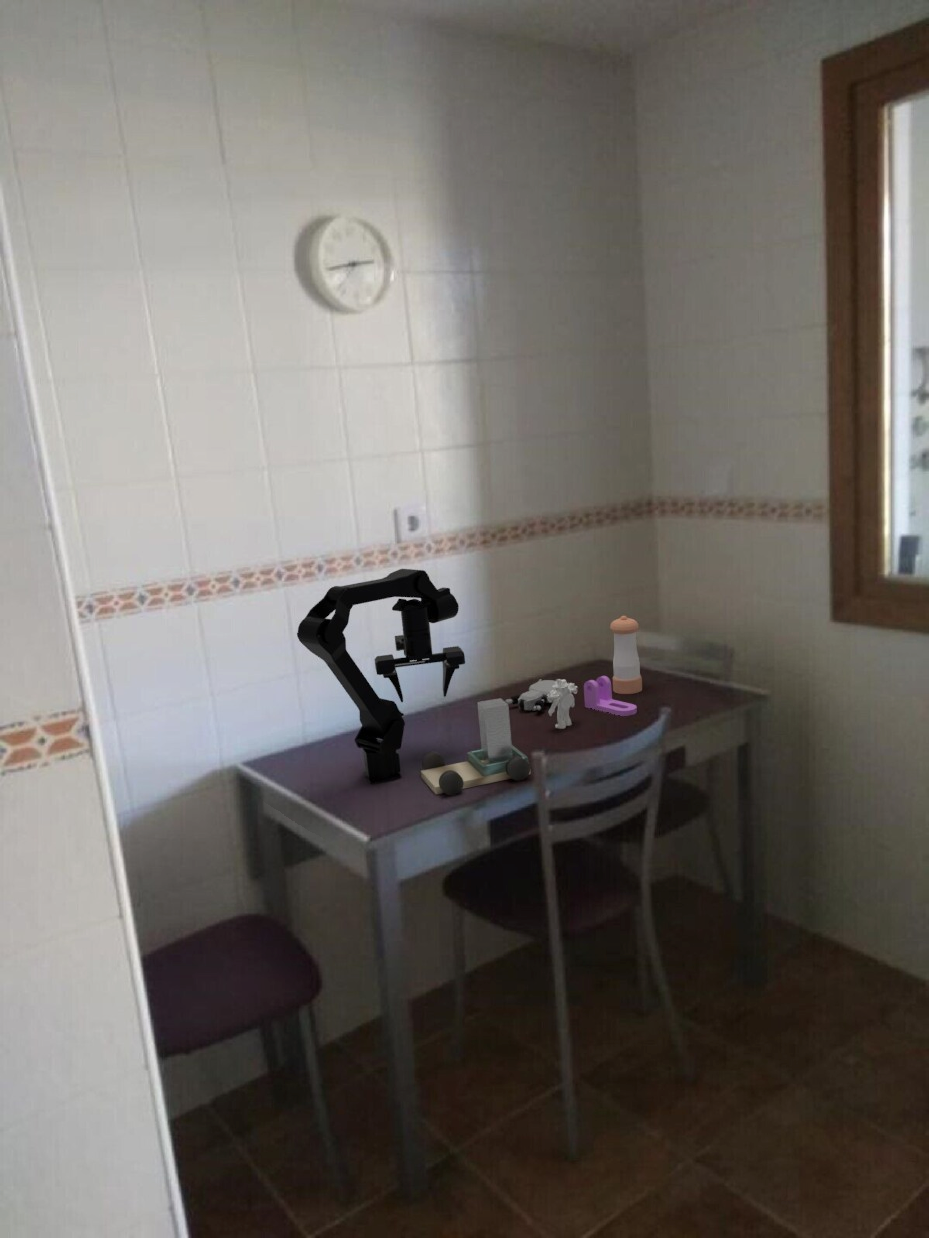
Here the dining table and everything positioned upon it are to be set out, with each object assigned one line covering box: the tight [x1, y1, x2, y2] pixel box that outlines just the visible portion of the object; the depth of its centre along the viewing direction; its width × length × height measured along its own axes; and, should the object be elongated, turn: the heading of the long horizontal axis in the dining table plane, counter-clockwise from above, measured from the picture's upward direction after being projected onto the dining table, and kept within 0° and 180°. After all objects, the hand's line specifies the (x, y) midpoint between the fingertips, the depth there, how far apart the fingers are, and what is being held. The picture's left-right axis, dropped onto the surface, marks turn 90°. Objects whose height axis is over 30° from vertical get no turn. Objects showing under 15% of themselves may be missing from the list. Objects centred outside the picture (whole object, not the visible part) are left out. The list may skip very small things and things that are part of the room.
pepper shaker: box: [609, 615, 643, 695], centre depth 238 cm, size 7×7×19 cm
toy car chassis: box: [420, 744, 531, 796], centre depth 192 cm, size 20×14×4 cm
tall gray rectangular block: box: [477, 697, 513, 765], centre depth 193 cm, size 5×5×13 cm
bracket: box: [583, 675, 638, 717], centre depth 226 cm, size 13×6×7 cm, turn 39°
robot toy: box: [504, 678, 578, 712], centre depth 234 cm, size 12×4×15 cm
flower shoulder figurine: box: [547, 678, 578, 730], centre depth 217 cm, size 9×4×12 cm, turn 134°
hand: (423, 699), depth 204 cm, fingers open, 9 cm apart
